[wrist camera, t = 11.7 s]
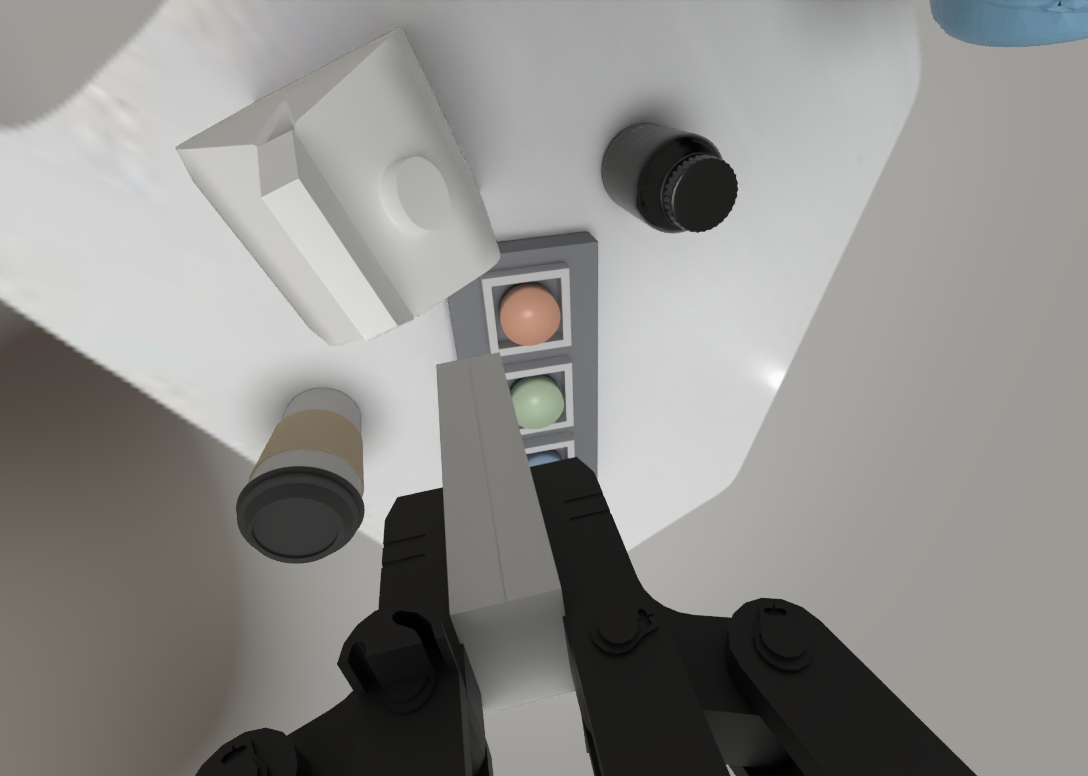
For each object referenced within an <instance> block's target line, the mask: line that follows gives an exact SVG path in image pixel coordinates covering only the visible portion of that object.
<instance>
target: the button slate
mask: <svg viewBox="0 0 1088 776" xmlns="http://www.w3.org/2000/svg"><path fill="white" fill-rule="evenodd" d="M527 459H528V463H529V467H531V466H536V465H540V464H545V463H550V462H554V461H559V460H562V459H561V457H560V456H559V455H558V454H556V453H554V452H552V451H547V450H546V451H541V452H535V453H530V454H528V455H527Z"/></svg>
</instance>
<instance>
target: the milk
mask: <svg viewBox="0 0 1088 776" xmlns="http://www.w3.org/2000/svg"><path fill="white" fill-rule="evenodd" d="M175 148H176V150H177V152H178V154H179V156H180V157H181V159H182V161H183V163H184V165H185V167H186V169H187V171H188V173H189V175H190V176H191V178H192V180H193V182H194V183H195V185H196V186H197V187H198V188H199V190H200V191H201V192H202V193H203V195H204V196H205V197H206V198H207V200H208V201H209V202H210V203H211V205H212V206H213V207H214V209H215V210H216V211H217V212H218V214H219V215H220V216H221V217H222V219H223V220H224V221H225V222H226V224H227V225H228V226H229V227H230V229H231V230H232V231H233V233H234V234H235V235H236V236H237V238H238V239H239V240H240V241H241V243H242V244H243V245H244V246H245V248H246V249H247V250H248V251H249V253H250V254H251V255H252V257H253V258H254V259H255V260H256V262H257V263H258V264H259V265H260V267H261V268H262V269H263V270H264V272H265V273H266V274H267V275H268V277H269V278H270V279H271V281H272V282H273V283H274V284H275V286H276V287H277V288H278V289H279V291H280V292H281V293H282V294H283V296H284V297H285V298H286V299H287V301H288V302H289V303H290V305H291V306H292V307H293V308H294V310H295V311H296V312H297V313H298V315H299V316H300V317H301V318H302V320H303V321H304V322H305V323H306V325H307V326H308V327H309V328H310V329H311V330H312V331H313V332H314V333H316V334H317V335H318V336H319V337H321V338H322V339H323V340H324V341H325V342H327V343H328V344H329V345H332V346H335V345H341V344H344V343H348V342H352V341H356V340H360V339H363V338H364V339H365V341H368V340H371V339H373V338H375V337H377V336H380V335H382V334H384V333H386V332H388V331H390V330H392V329H395V328H397V327H399V326H401V325H403V324H405V323H407V322H409V321H411V320H413V319H414V318H413V316H420V315H421V314H423V313H424V312H426V311H427V310H429V309H430V308H432V307H433V306H435V305H436V304H438V303H440V302H441V301H443V300H444V299H446V298H447V297H449V296H450V295H452V294H453V293H455V292H456V291H458V290H460V289H461V288H463V287H464V286H466V285H467V284H469V283H470V282H472V281H473V280H475V279H476V278H478V277H479V276H481V275H482V274H484V273H485V272H487V271H488V270H490V269H491V268H492V267H493V266H494V265H495V264H496V263H497V262H498V261H499V259H500V255H501V253H500V250H499V247H498V244H497V241H496V238H495V235H494V232H493V229H492V226H491V223H490V220H489V217H488V214H487V211H486V209H485V206H484V203H483V200H482V197H481V194H480V191H479V189H478V187H477V185H476V182H475V180H474V178H473V176H472V174H471V172H470V170H469V168H468V166H467V164H466V161H465V159H464V157H463V155H462V153H461V151H460V149H459V147H458V145H457V142H456V140H455V138H454V136H453V134H452V132H451V130H450V128H449V126H448V123H447V121H446V119H445V117H444V115H443V113H442V111H441V109H440V107H439V105H438V102H437V100H436V98H435V96H434V94H433V92H432V90H431V88H430V86H429V83H428V81H427V79H426V77H425V75H424V73H423V71H422V69H421V67H420V64H419V62H418V60H417V58H416V56H415V54H414V52H413V50H412V48H411V45H410V43H409V41H408V39H407V37H406V35H405V33H404V31H403V29H402V27H401V26H400V27H399V28H397V29H395V30H393V31H391V32H389V33H387V34H385V35H383V36H381V37H379V38H377V39H375V40H374V41H372V42H370V43H368V44H366V45H364V46H362V47H360V48H358V49H356V50H354V51H352V52H350V53H349V54H347V55H345V56H343V57H341V58H339V59H337V60H335V61H333V62H331V63H329V64H327V65H325V66H324V67H322V68H320V69H318V70H316V71H314V72H312V73H310V74H308V75H306V76H304V77H302V78H300V79H299V80H297V81H295V82H293V83H291V84H289V85H287V86H285V87H283V88H281V89H279V90H277V91H275V92H274V93H272V94H270V95H268V96H266V97H264V98H262V99H260V100H258V101H256V102H254V103H252V104H251V105H249V106H247V107H245V108H244V109H242V110H240V111H238V112H236V113H235V114H233V115H231V116H229V117H228V118H226V119H224V120H222V121H220V122H219V123H217V124H215V125H213V126H212V127H210V128H208V129H206V130H204V131H203V132H201V133H199V134H197V135H196V136H194V137H192V138H190V139H188V140H187V141H185V142H183V143H181V144H180V145H178V146H177V147H175Z"/></svg>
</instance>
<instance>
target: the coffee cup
mask: <svg viewBox="0 0 1088 776" xmlns="http://www.w3.org/2000/svg"><path fill="white" fill-rule="evenodd" d="M363 492H364V477H363V443H362V437H361V414H360V411H359V408H358V406H357V405H356V403H355V402H354V401H353V400H352V399H351V398H350V397H349V396H347V395H346V394H344V393H342V392H340V391H337V390H334V389H329V388H315V389H310V390H307V391H304V392H302V393H300V394H299V395H297V396H296V397H295V398H294V399H293V400H292V401H291V402H290V404H289V406H288V408H287V410H286V411H285V413H284V415H283V417H282V419H281V421H280V423H279V424H278V425H277V427H276V428H275V430H274V432H273V434H272V436H271V438H270V439H269V441H268V443H267V445H266V447H265V449H264V451H263V452H262V454H261V456H260V458H259V460H258V462H257V464H256V465H255V467H254V469H253V471H252V473H251V475H250V479H249V483H248V484H247V485H246V486H245V488H244V489H243V490H242V492H241V493H240V495H239V497H238V500H237V505H236V512H237V523H238V527H239V529H240V532H241V534H242V535H243V537H244V538H245V539H246V541H247V542H248V543H249V544H250V545H252V546H253V547H254V548H255V549H257V550H258V551H259V552H261V553H262V554H263V555H265V556H267V557H269V558H271V559H274V560H276V561H280V562H285V563H308V562H313V561H316V560H319V559H322V558H324V557H326V556H328V555H330V554H332V553H334V552H336V551H337V550H339V549H340V548H342V547H343V546H344V545H346V544H347V543H348V542H349V541H350V540H351V538H352V537H353V536H354V534H355V532H356V531H357V530H358V528H359V527H360V525H361V523H362V521H363V517H364V503H363V500H362V496H363Z"/></svg>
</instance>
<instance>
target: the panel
mask: <svg viewBox="0 0 1088 776" xmlns="http://www.w3.org/2000/svg"><path fill="white" fill-rule="evenodd" d="M497 244H498V247H499V250H500V253H501V255H500V259H499V261H498V262H497V263H496V264H495V265H494V266H493V267H492V268H491V269H490V270H488V271H487V272H485V273H484V274H482V275H481V276H479V277H478V278H476V279H475V280H473V281H472V282H470V283H469V284H467V285H466V286H464V287H463V288H461V289H460V290H458V291H456V292H455V293H453V294H452V295H450V296H449V297H448V303H449V309H450V315H451V321H452V327H453V333H454V339H455V345H456V351H457V357H458V360H463V359H468V358H473V357H478V356H483V355H488V354H493V353H499V352H500V356H501V360H502V364H503V367H504V371H505V375H506V379H507V383H508V387H509V390H510V391H511V390H512V388H513V387H514V385H515V384H516V383H518V382H519V381H520V380H522V379H524V378H526V377H529V376H535V375H540V376H545V377H548V378H550V379H552V380H553V381H554V382H555V383H556V384H557V385H558V387H559V390H560V392H561V394H562V396H563V399H564V408H563V411H562V414H561V415H560V417H559V418H558V419H557V420H556V421H555V422H554V423H552V424H551V425H549V426H547V427H545V428H541V429H527V428H524V427H522V426H520V425H519V429H520V432H521V436H522V440H523V444H524V448H525V452H526V455H528V454H530V453H535V452H541V451H546V450H547V451H552V452H554V453H556V454H558V455H559V456H560V457H561V459H562V460H563V459H568V458H573V457H578V458H579V459H580V460H581V461H582V462H583V463H585V464H586V465H587V466H588V467H589V468H590V469H591V470H592V471H594V473H595V475H596V478H597V437H598V241H597V240H596V239H595V238H594V237H593V236H592V235H591V234H590V233H589V232H580V233H571V234H563V235H555V236H546V237H538V238H530V239H521V240H513V241H505V242H497ZM529 283H530V284H537V285H540V286H542V287H544V288H546V289H547V290H548V291H549V292H550V293H551V294H552V296H553V297H554V299H555V301H556V302H557V304H558V306H559V309H560V323H559V326H558V328H557V330H556V332H555V333H554V334H553V335H552V336H551V337H550V338H549V339H548V340H546V341H545V342H543V343H541V344H538V345H533V346H524V345H519V344H517V343H515V342H513V341H511V340H510V339H509V338H508V337H507V336H506V334H505V333H504V331H503V328H502V325H501V322H500V319H499V306H500V303H501V301H502V299H503V297H504V296H505V295H506V294H507V293H508V292H509V291H510V290H511V289H513V288H514V287H516V286H519V285H522V284H529Z"/></svg>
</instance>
